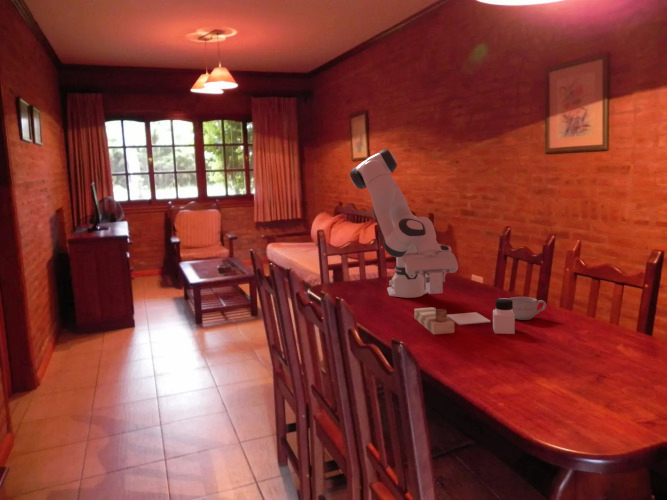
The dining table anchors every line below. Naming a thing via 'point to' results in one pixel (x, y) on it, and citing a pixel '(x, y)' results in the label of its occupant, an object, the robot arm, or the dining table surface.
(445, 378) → the dining table surface
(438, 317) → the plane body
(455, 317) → the off-white pad
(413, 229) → the robot arm
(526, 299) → the teacup
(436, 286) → the gray rectangular block
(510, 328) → the medicine bottle
